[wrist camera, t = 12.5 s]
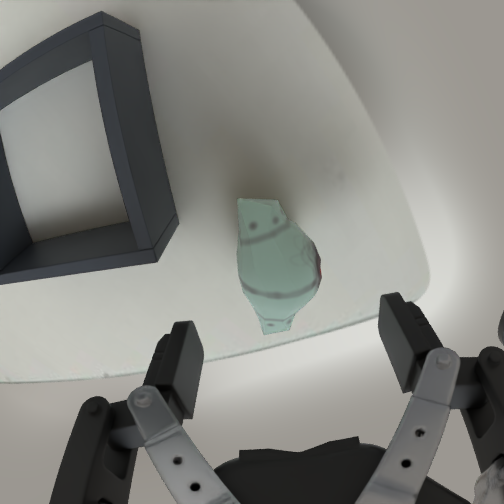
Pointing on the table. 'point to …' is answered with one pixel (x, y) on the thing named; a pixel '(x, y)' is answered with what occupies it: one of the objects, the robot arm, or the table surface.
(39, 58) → the bin
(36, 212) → the table surface
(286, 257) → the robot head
